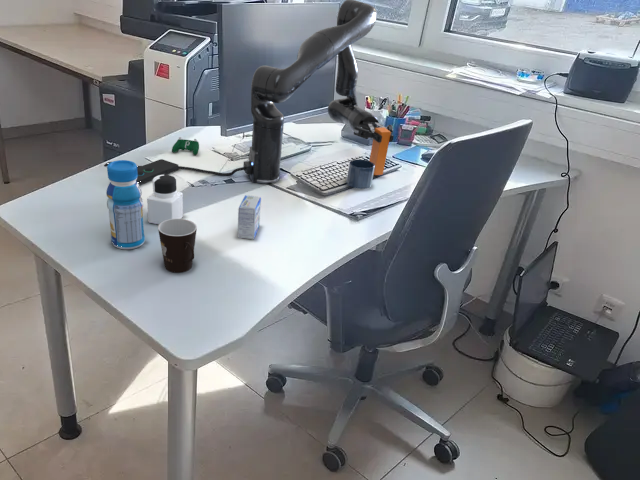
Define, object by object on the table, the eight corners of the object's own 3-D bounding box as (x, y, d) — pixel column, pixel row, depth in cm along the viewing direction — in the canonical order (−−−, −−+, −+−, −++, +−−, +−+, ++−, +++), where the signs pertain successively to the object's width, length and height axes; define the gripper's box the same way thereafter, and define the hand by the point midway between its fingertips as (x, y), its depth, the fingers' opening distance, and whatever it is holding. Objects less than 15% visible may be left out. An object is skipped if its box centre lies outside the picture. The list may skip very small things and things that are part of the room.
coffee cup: (352, 190, 171) (356, 169, 167) (342, 181, 177) (345, 160, 173) (375, 189, 173) (379, 167, 169) (364, 179, 179) (368, 158, 175)
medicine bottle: (183, 216, 151) (182, 174, 144) (172, 227, 145) (171, 184, 139) (159, 212, 153) (157, 170, 146) (147, 222, 147) (145, 179, 140)
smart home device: (115, 174, 169) (160, 158, 183) (115, 180, 170) (161, 163, 184) (134, 182, 165) (179, 164, 179) (134, 187, 166) (179, 169, 180)
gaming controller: (198, 159, 194) (202, 143, 195) (196, 153, 190) (200, 137, 191) (173, 155, 195) (177, 140, 196) (170, 150, 191) (174, 135, 193)
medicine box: (254, 240, 141) (256, 209, 137) (237, 237, 142) (238, 206, 137) (259, 226, 148) (261, 196, 143) (243, 224, 148) (244, 194, 144)
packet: (373, 175, 180) (381, 132, 172) (367, 170, 184) (375, 127, 176) (382, 174, 181) (391, 131, 173) (376, 169, 184) (384, 127, 176)
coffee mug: (160, 256, 132) (158, 218, 127) (196, 256, 133) (196, 218, 128) (158, 282, 123) (156, 242, 117) (197, 282, 124) (197, 242, 118)
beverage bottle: (129, 254, 133) (123, 174, 122) (103, 244, 136) (95, 165, 125) (152, 240, 139) (148, 163, 128) (126, 231, 142) (120, 155, 131)
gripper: (344, 111, 183) (367, 128, 169) (383, 110, 186) (409, 126, 172) (341, 134, 187) (363, 152, 173) (379, 132, 190) (404, 149, 177)
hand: (386, 139), depth 173 cm, fingers closed on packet, 3 cm apart
